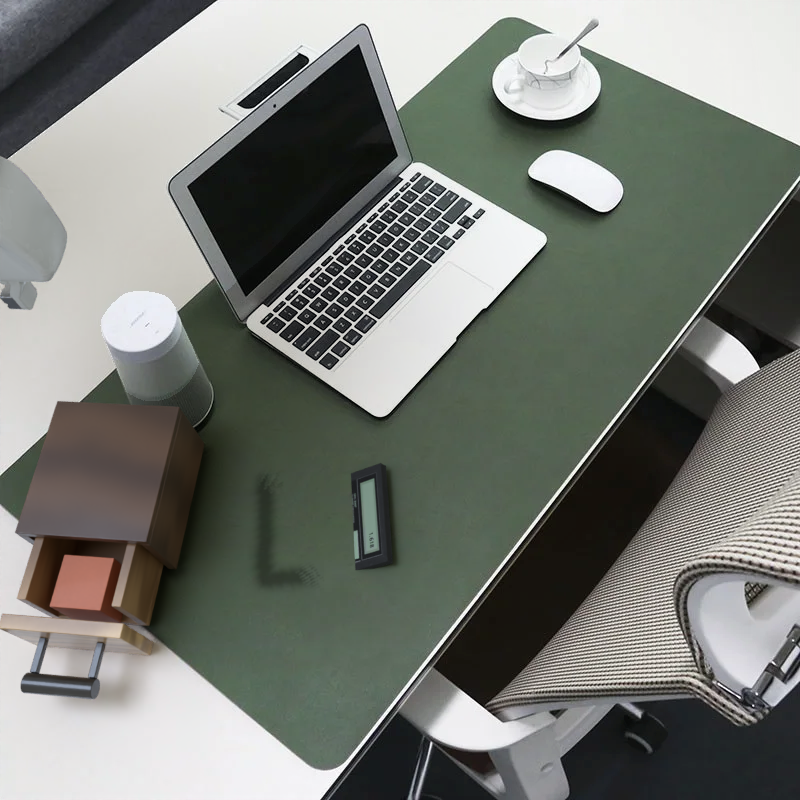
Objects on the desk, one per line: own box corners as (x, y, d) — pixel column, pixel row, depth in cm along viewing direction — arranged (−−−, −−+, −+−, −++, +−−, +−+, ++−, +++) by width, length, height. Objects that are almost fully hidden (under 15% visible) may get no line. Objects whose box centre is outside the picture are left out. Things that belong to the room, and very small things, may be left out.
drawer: (139, 710, 71) (105, 696, 64) (24, 699, 72) (-21, 684, 65) (180, 530, 78) (153, 502, 71) (75, 523, 79) (39, 495, 73)
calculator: (267, 487, 80) (260, 475, 78) (388, 475, 80) (385, 462, 77) (267, 583, 76) (260, 573, 73) (395, 570, 75) (392, 560, 73)
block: (72, 619, 74) (49, 606, 70) (86, 569, 76) (64, 554, 72) (120, 623, 73) (100, 610, 69) (133, 573, 75) (114, 557, 71)
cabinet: (180, 573, 77) (146, 541, 69) (62, 564, 78) (14, 532, 70) (208, 448, 83) (179, 406, 75) (97, 442, 84) (57, 400, 76)
